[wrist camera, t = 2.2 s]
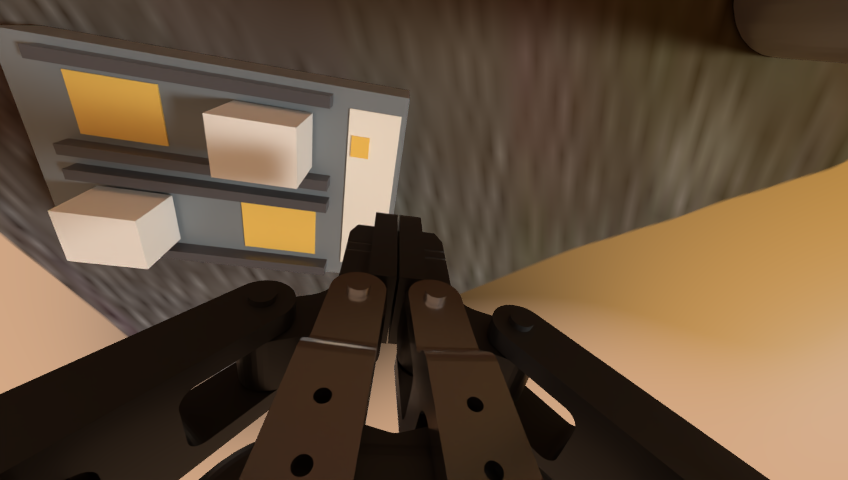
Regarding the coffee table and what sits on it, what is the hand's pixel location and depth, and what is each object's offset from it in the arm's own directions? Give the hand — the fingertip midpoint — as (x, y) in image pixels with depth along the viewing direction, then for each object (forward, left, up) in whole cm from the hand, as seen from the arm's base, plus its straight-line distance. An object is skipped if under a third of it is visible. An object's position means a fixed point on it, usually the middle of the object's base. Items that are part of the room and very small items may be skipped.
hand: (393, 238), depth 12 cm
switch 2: (+7, 0, -10) cm, 12 cm away
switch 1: (+15, +6, -10) cm, 19 cm away
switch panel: (+10, +3, -13) cm, 16 cm away
